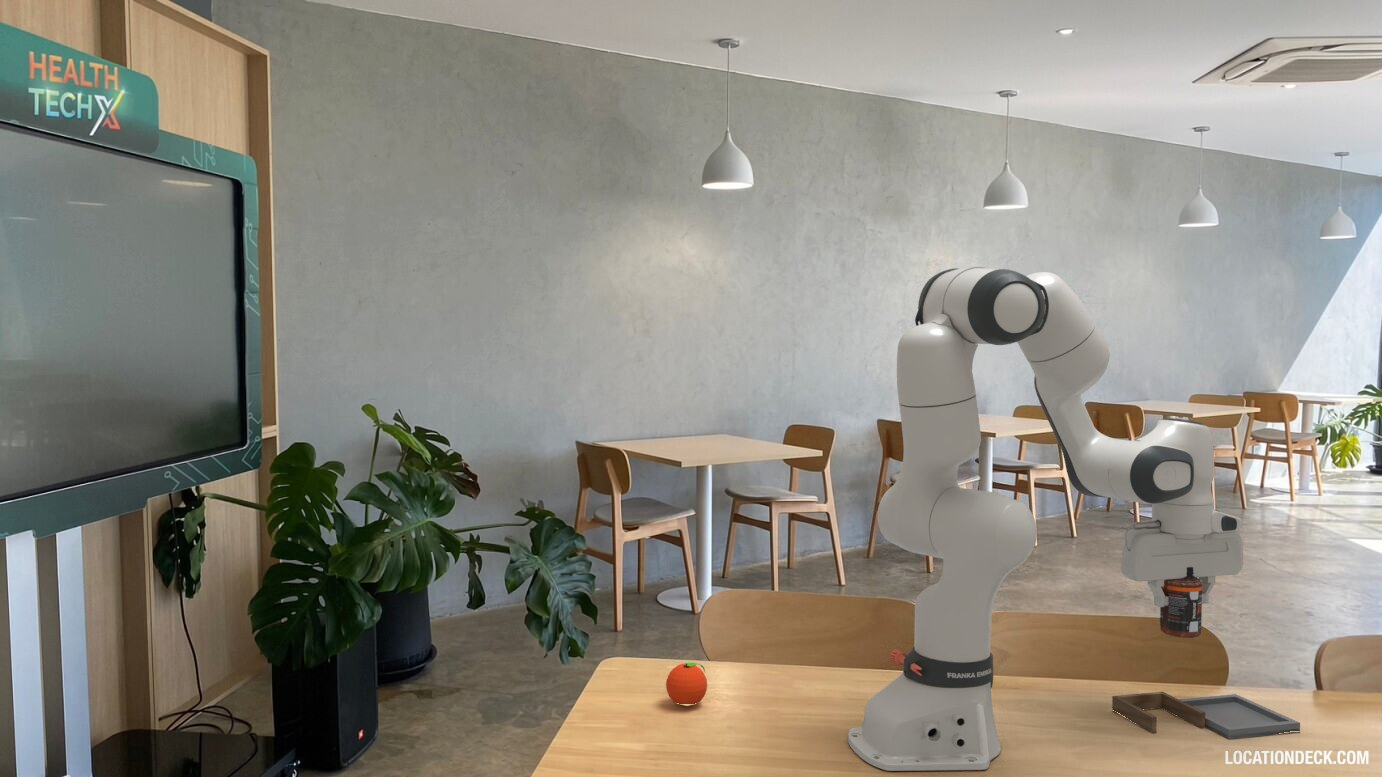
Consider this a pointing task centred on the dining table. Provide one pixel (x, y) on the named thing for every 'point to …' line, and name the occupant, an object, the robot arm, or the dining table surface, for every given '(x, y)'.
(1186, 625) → the supplement bottle
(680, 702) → the clementine
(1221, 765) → the dining table surface
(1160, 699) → the frame
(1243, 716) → the tray
